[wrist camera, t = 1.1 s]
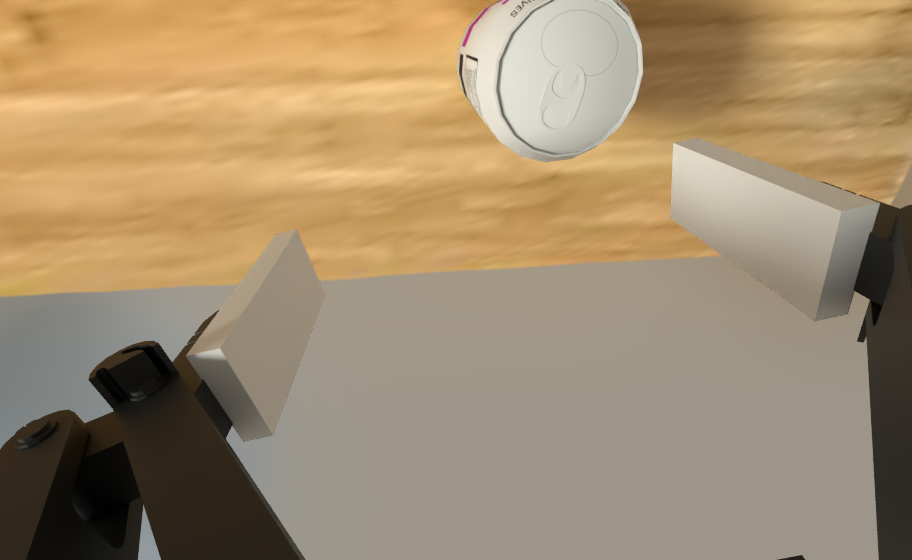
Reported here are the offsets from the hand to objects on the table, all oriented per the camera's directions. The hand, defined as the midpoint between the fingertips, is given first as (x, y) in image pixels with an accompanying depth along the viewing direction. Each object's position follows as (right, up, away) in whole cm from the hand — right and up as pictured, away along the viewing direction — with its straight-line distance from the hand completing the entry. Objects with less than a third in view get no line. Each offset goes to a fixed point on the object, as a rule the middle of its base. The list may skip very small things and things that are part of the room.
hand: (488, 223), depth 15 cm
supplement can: (+3, +15, +18) cm, 24 cm away
